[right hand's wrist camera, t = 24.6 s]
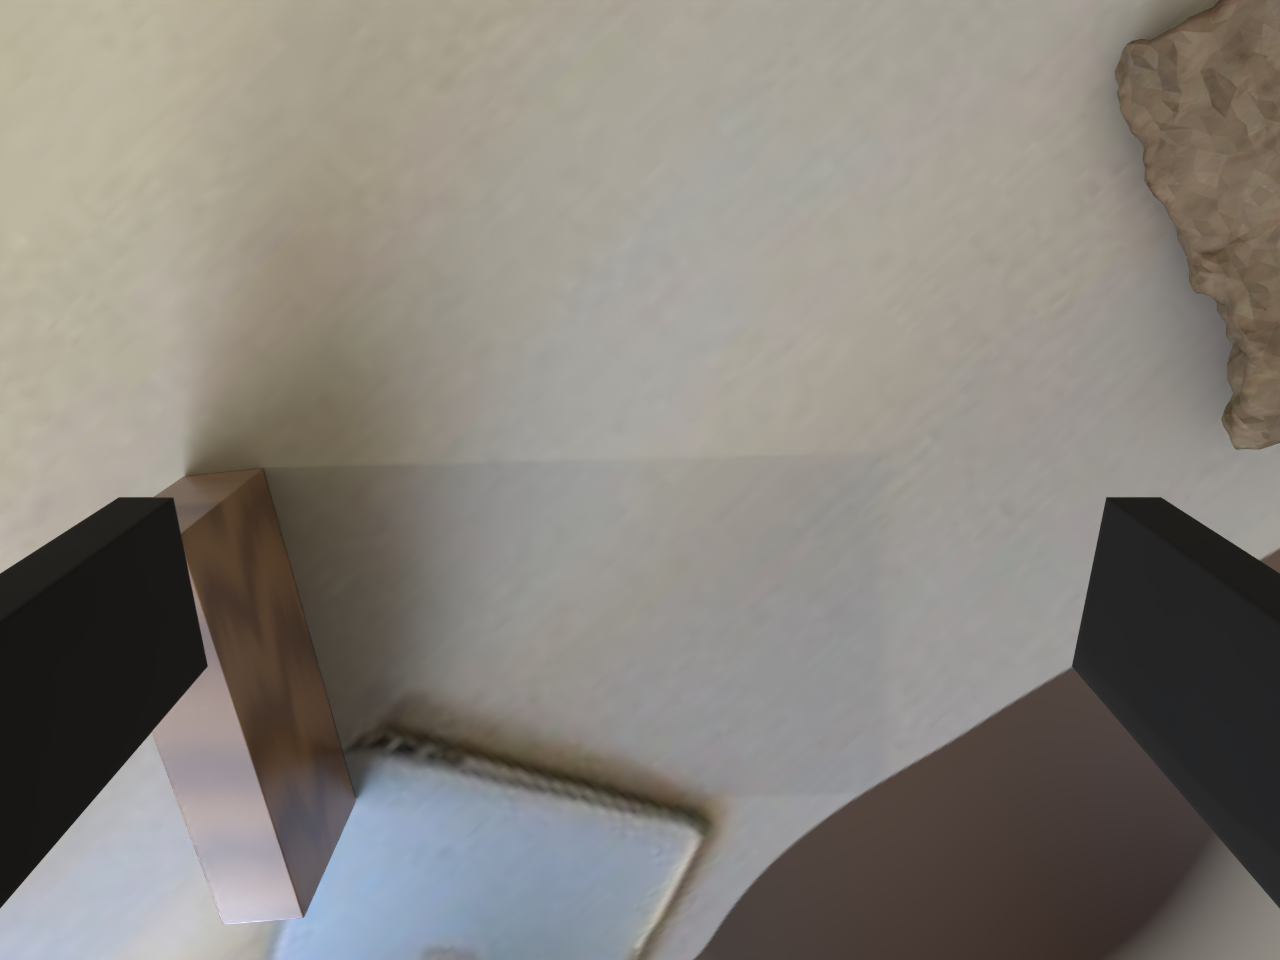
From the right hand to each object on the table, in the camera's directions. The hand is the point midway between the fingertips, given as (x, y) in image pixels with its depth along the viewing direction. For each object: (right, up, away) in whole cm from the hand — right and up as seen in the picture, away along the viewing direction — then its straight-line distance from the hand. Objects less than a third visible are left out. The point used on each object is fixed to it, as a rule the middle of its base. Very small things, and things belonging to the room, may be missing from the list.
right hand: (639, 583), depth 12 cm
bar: (-22, -9, +38) cm, 45 cm away
